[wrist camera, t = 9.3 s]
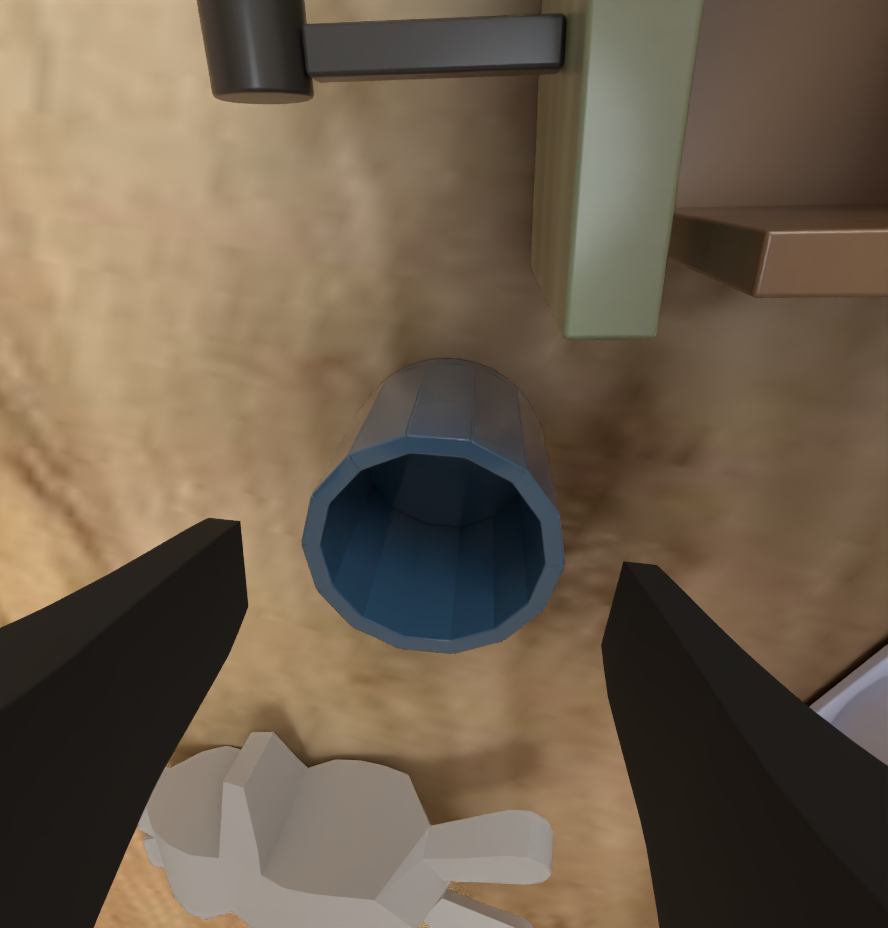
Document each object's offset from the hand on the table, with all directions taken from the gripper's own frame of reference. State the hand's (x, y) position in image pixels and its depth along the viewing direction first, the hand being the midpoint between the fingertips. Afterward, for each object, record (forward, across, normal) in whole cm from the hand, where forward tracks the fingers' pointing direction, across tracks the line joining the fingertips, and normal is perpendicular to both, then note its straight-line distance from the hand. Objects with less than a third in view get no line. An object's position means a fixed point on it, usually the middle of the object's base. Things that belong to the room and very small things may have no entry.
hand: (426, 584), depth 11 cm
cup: (+6, 0, 0) cm, 6 cm away
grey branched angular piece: (+6, +3, +16) cm, 17 cm away
